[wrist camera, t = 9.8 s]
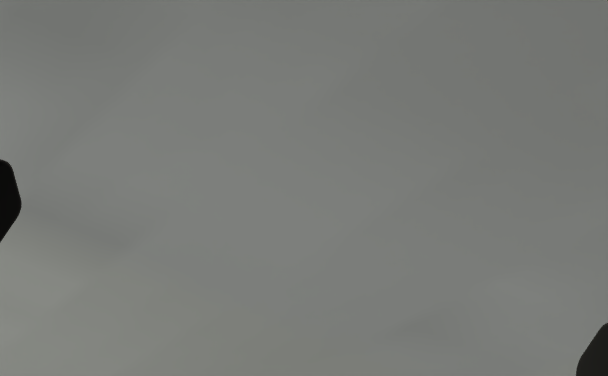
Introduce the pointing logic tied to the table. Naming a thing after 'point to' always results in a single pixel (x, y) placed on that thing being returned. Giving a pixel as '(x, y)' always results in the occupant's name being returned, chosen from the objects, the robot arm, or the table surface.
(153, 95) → the table surface
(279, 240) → the table surface
